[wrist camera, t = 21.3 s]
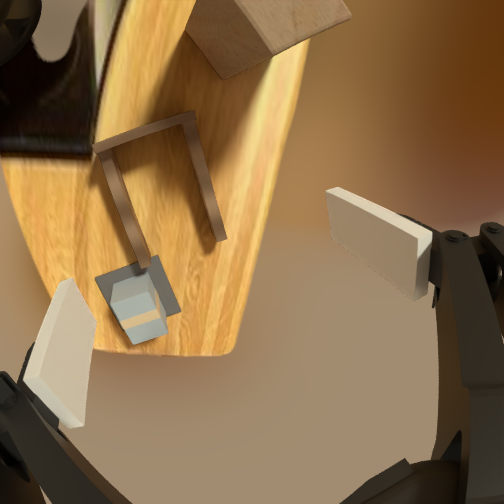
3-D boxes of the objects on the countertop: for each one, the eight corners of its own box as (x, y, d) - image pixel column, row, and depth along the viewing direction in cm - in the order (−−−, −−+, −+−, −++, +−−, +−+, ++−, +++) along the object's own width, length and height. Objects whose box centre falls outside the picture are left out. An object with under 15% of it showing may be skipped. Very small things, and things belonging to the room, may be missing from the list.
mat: (94, 277, 45) (94, 278, 45) (157, 254, 47) (157, 255, 47) (123, 330, 50) (123, 331, 50) (181, 310, 52) (181, 311, 52)
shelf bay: (100, 141, 38) (92, 145, 33) (188, 111, 40) (194, 110, 35) (141, 257, 46) (141, 275, 41) (221, 229, 49) (230, 244, 43)
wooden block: (241, -2, 35) (299, -62, 17) (277, 49, 40) (355, 17, 22) (183, 28, 35) (208, -31, 17) (222, 81, 40) (273, 56, 22)
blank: (113, 283, 46) (109, 304, 41) (147, 271, 47) (148, 291, 42) (133, 322, 50) (132, 345, 45) (165, 311, 51) (168, 333, 46)
